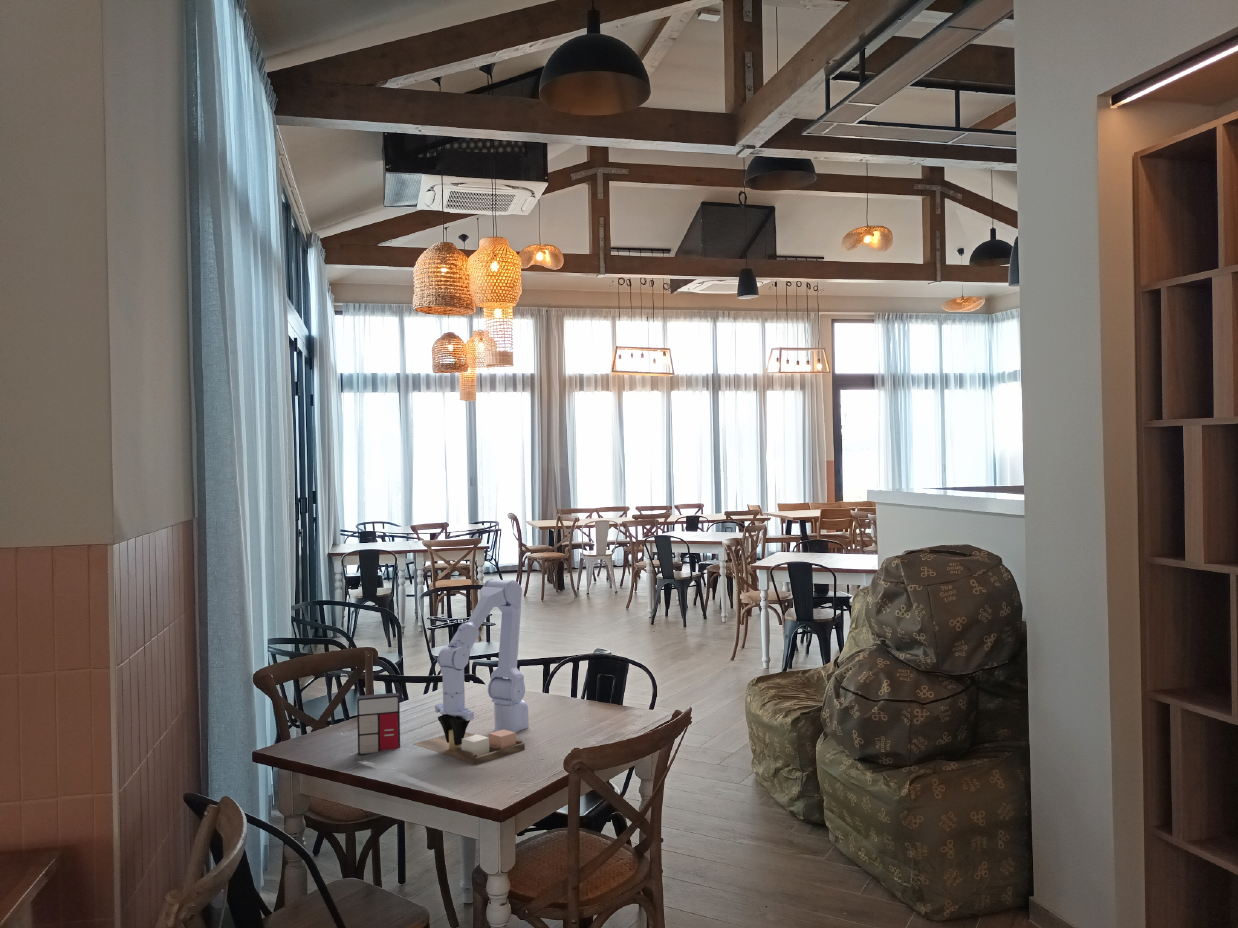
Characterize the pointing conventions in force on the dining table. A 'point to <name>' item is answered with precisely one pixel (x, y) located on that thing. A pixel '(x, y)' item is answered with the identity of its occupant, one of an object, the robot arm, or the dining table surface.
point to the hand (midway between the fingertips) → (454, 742)
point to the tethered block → (470, 744)
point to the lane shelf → (494, 752)
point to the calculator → (378, 722)
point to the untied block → (502, 738)
